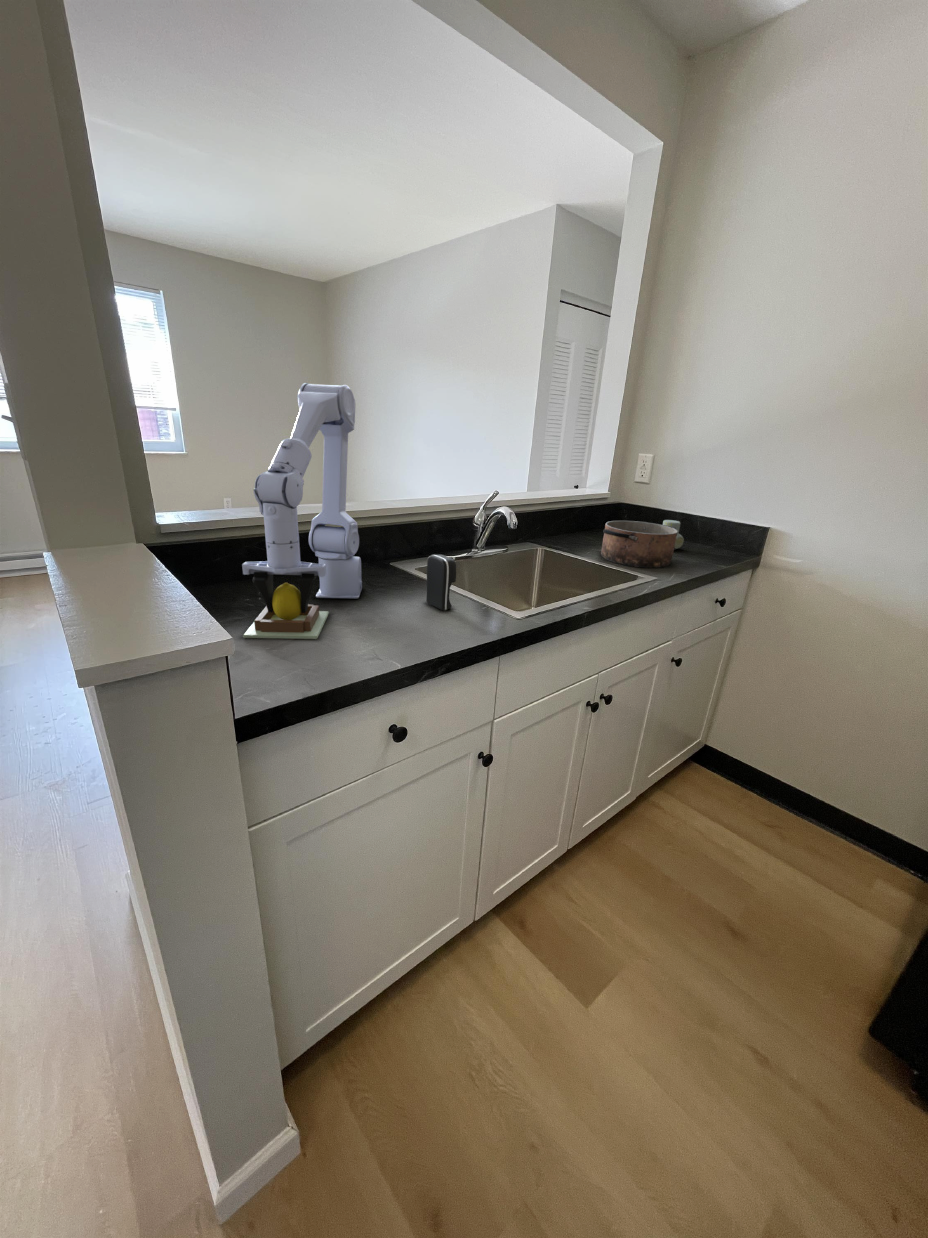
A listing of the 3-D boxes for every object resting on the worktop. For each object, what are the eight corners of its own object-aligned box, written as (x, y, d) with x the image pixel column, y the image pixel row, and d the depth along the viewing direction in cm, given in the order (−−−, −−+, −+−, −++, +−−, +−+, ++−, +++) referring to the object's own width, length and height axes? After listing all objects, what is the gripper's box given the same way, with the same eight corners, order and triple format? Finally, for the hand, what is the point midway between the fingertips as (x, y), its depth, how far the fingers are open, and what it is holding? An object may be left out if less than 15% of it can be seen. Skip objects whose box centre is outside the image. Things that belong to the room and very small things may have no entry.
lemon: (278, 616, 98) (274, 578, 95) (306, 617, 98) (304, 578, 96) (270, 627, 93) (266, 586, 90) (300, 628, 93) (297, 587, 90)
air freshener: (663, 544, 190) (669, 518, 186) (684, 548, 184) (690, 522, 181) (648, 547, 183) (653, 520, 180) (669, 552, 178) (675, 524, 174)
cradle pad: (328, 613, 103) (328, 602, 102) (317, 639, 91) (316, 626, 90) (264, 612, 101) (262, 600, 100) (243, 638, 89) (241, 624, 88)
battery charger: (456, 609, 110) (459, 558, 105) (442, 612, 107) (445, 560, 103) (438, 600, 115) (440, 551, 111) (425, 602, 112) (426, 553, 108)
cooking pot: (635, 548, 181) (641, 518, 177) (691, 562, 164) (698, 530, 160) (578, 555, 164) (583, 523, 161) (634, 572, 148) (640, 537, 144)
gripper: (233, 544, 85) (241, 617, 90) (319, 547, 87) (323, 619, 92) (246, 535, 92) (253, 604, 97) (326, 538, 94) (329, 606, 98)
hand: (288, 610), depth 95 cm, fingers closed on lemon, 5 cm apart
